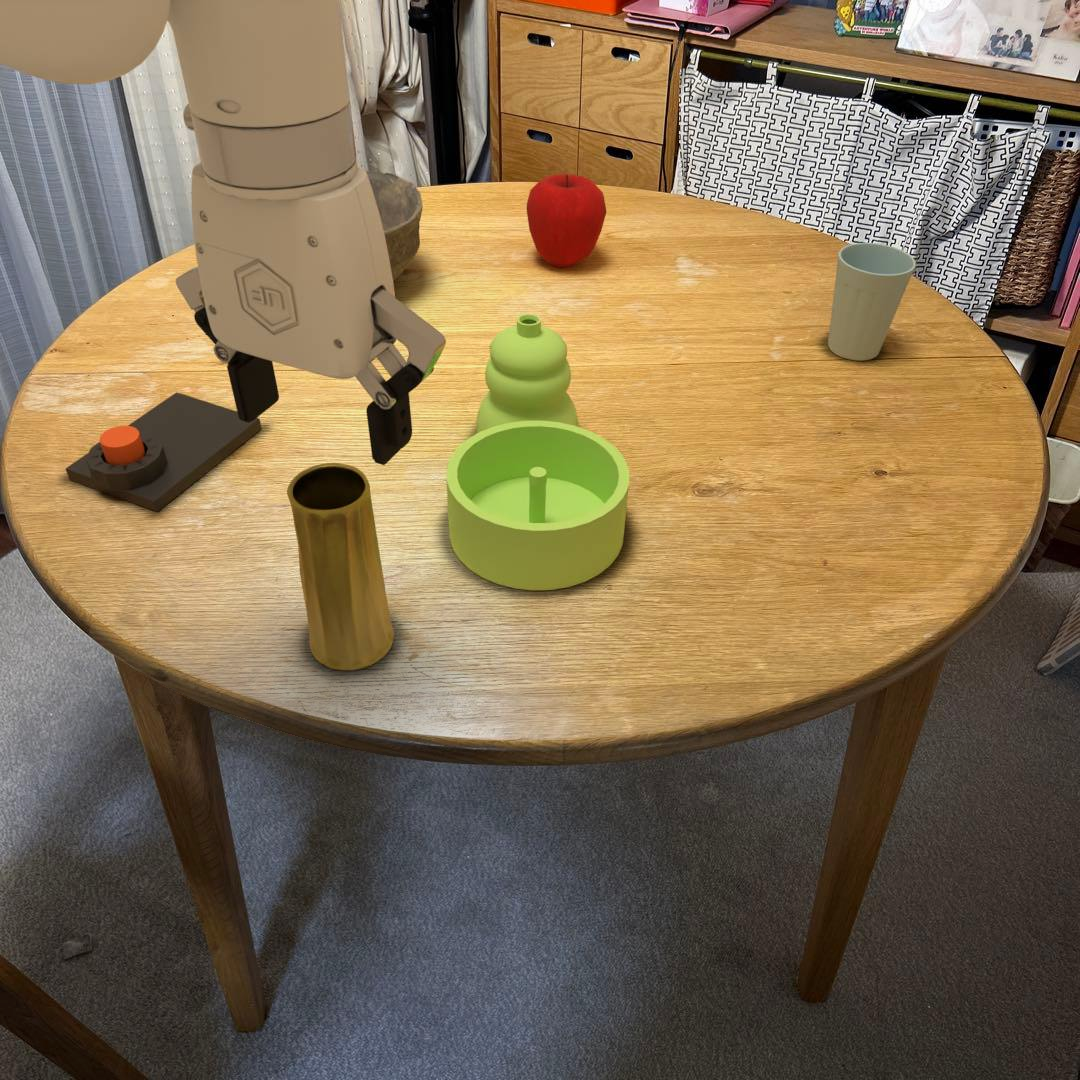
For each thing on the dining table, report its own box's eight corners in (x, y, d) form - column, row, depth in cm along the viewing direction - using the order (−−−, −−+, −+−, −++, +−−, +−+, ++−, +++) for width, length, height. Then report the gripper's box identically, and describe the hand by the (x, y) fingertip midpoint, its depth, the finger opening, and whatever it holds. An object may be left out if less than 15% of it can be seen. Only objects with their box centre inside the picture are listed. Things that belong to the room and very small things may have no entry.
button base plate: (152, 515, 81) (144, 487, 79) (64, 482, 84) (53, 454, 82) (262, 429, 91) (256, 402, 89) (179, 402, 94) (172, 375, 92)
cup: (816, 360, 103) (838, 268, 96) (817, 327, 108) (838, 238, 102) (889, 370, 102) (917, 278, 95) (886, 336, 107) (913, 247, 100)
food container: (635, 587, 75) (650, 456, 67) (449, 593, 74) (442, 461, 66) (598, 411, 94) (606, 293, 86) (449, 414, 93) (443, 295, 85)
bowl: (283, 340, 104) (268, 251, 97) (230, 265, 117) (213, 183, 110) (457, 299, 111) (454, 215, 105) (388, 234, 125) (382, 156, 118)
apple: (604, 279, 116) (610, 190, 109) (525, 277, 116) (526, 188, 109) (601, 245, 124) (606, 159, 117) (526, 243, 124) (527, 157, 117)
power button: (126, 470, 81) (119, 450, 80) (97, 460, 82) (90, 440, 81) (153, 451, 83) (147, 431, 82) (125, 441, 84) (118, 421, 83)
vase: (363, 599, 74) (341, 447, 64) (411, 643, 70) (396, 489, 61) (293, 637, 71) (261, 483, 61) (340, 685, 67) (313, 530, 58)
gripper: (88, 138, 47) (171, 426, 59) (385, 200, 42) (414, 505, 53) (191, 96, 53) (249, 369, 64) (468, 147, 47) (478, 435, 58)
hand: (324, 430), depth 59 cm, fingers open, 9 cm apart
